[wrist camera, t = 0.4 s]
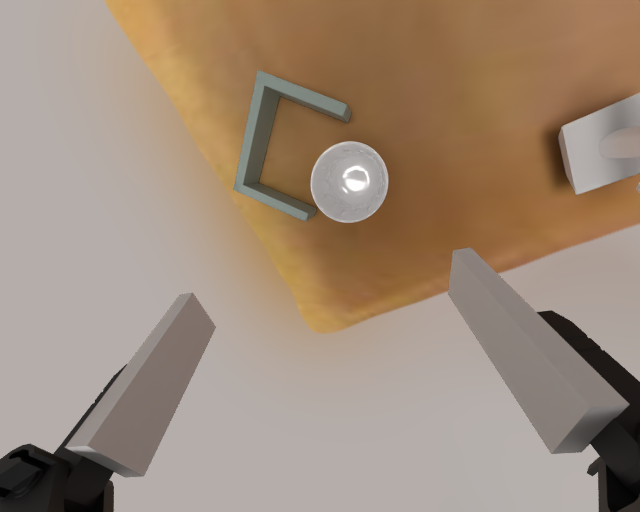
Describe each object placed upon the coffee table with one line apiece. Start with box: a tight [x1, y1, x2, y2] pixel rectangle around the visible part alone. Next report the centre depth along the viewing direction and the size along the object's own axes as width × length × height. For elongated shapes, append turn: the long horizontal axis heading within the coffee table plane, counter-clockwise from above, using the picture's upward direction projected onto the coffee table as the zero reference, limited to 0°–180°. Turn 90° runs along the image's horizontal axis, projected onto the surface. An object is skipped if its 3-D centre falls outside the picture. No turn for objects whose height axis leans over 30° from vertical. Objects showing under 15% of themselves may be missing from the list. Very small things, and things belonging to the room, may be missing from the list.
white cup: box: [311, 141, 388, 223], centre depth 28 cm, size 8×8×10 cm
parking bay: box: [234, 70, 352, 222], centre depth 32 cm, size 14×11×4 cm
